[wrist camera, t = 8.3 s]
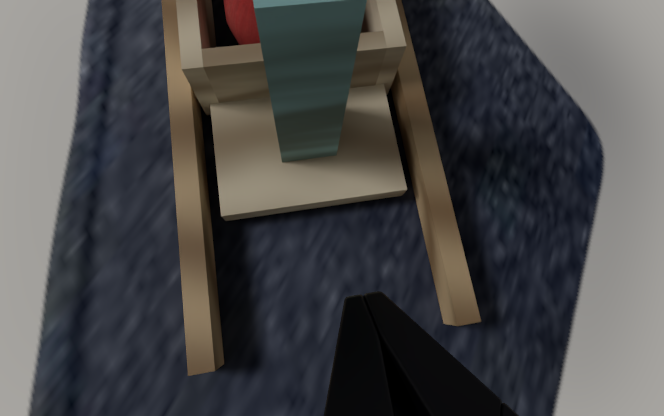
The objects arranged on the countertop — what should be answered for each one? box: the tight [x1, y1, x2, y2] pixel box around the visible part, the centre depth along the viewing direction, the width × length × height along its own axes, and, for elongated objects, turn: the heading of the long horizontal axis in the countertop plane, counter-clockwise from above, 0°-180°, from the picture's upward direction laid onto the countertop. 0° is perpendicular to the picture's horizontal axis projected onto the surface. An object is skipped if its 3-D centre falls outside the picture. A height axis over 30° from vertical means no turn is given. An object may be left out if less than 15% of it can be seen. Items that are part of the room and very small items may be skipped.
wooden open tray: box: [176, 0, 407, 221], centre depth 17 cm, size 16×11×12 cm, turn 9°
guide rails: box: [162, 0, 481, 376], centre depth 21 cm, size 24×14×2 cm, turn 9°
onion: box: [224, 0, 260, 45], centre depth 20 cm, size 6×6×8 cm
